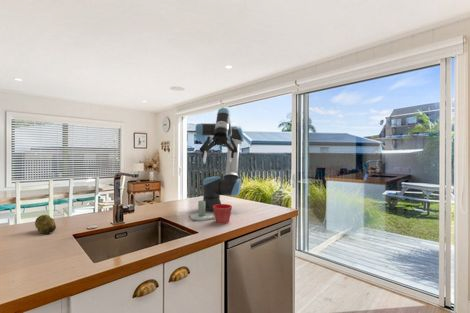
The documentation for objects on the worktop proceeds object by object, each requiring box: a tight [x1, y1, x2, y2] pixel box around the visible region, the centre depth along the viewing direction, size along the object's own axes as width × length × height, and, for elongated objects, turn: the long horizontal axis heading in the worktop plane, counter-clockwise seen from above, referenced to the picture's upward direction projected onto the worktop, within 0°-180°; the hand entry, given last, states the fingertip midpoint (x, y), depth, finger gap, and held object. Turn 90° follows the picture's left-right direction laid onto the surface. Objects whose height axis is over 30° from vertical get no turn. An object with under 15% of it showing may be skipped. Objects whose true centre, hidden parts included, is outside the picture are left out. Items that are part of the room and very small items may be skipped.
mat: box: [188, 215, 216, 222], centre depth 156 cm, size 14×14×1 cm
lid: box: [189, 200, 214, 222], centre depth 156 cm, size 14×14×10 cm
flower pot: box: [213, 203, 233, 225], centre depth 147 cm, size 11×11×10 cm
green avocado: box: [34, 214, 57, 234], centre depth 128 cm, size 8×13×8 cm, turn 39°
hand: (216, 162), depth 129 cm, fingers open, 13 cm apart
